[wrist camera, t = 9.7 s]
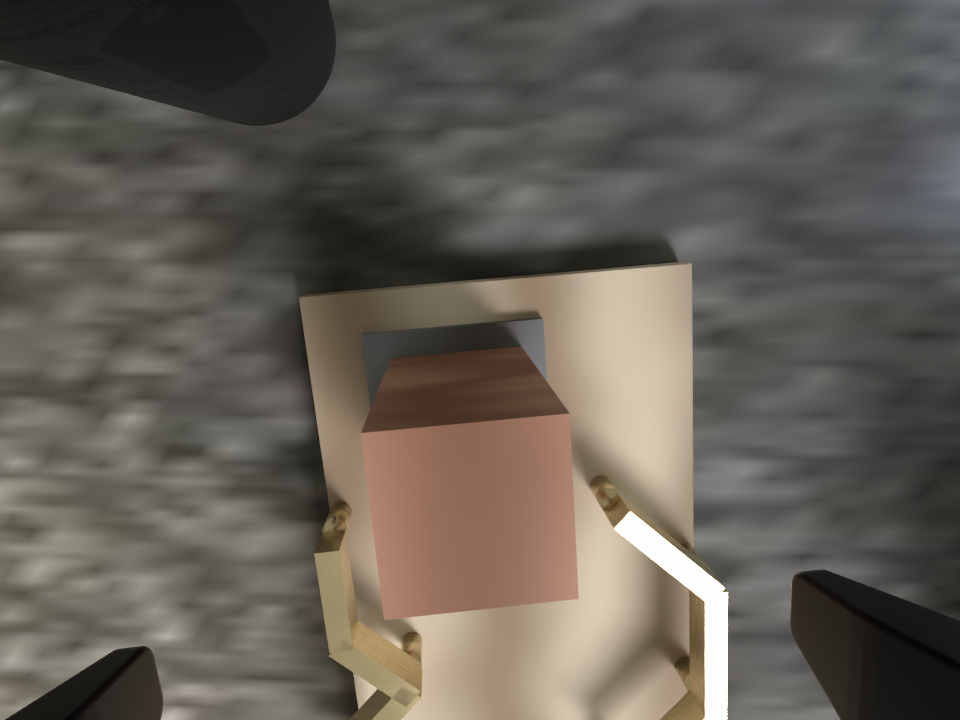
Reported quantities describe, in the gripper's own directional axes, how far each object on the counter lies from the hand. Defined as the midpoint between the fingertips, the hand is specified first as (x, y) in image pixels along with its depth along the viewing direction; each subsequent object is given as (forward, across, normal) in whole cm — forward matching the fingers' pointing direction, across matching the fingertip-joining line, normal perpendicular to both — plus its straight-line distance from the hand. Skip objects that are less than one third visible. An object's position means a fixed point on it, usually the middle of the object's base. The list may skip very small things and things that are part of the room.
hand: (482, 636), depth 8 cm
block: (+11, 0, 0) cm, 11 cm away
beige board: (+12, -2, +8) cm, 14 cm away
